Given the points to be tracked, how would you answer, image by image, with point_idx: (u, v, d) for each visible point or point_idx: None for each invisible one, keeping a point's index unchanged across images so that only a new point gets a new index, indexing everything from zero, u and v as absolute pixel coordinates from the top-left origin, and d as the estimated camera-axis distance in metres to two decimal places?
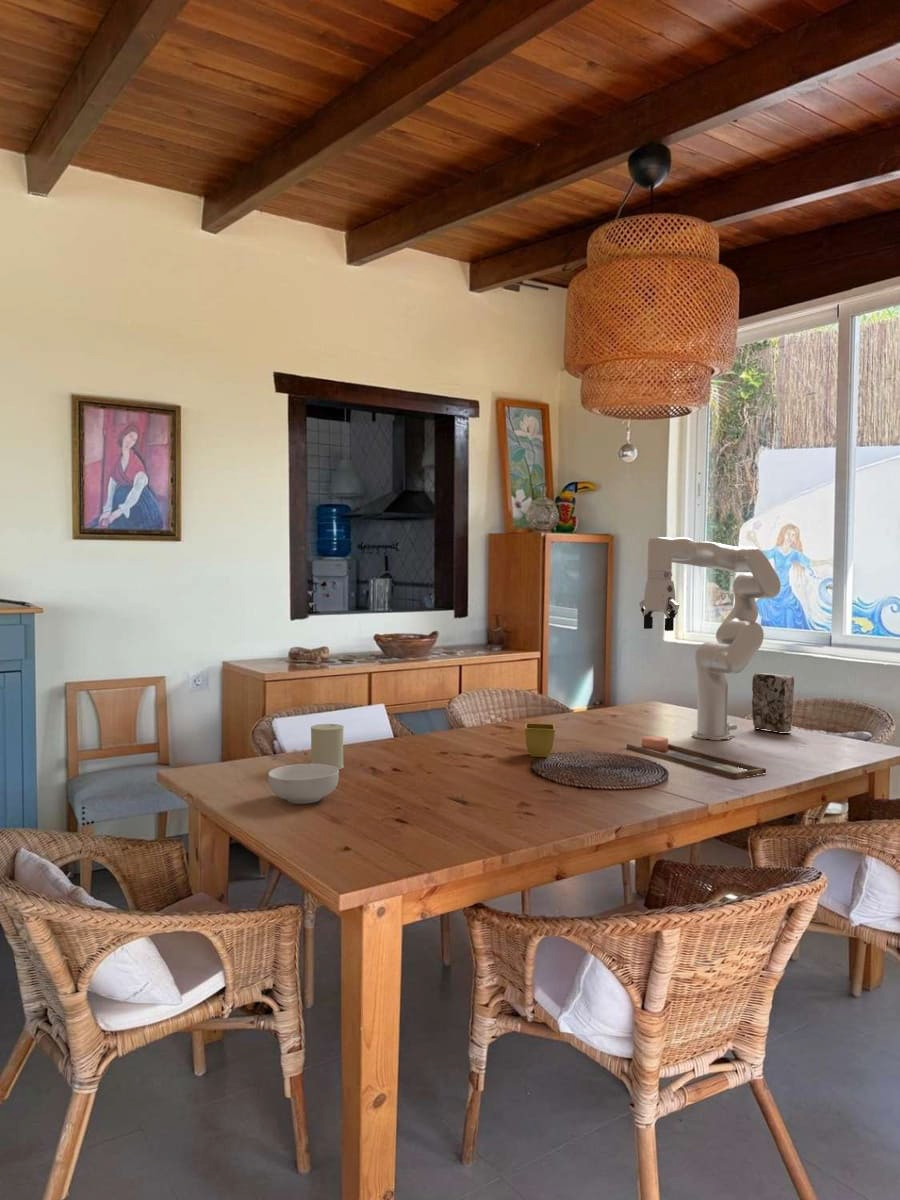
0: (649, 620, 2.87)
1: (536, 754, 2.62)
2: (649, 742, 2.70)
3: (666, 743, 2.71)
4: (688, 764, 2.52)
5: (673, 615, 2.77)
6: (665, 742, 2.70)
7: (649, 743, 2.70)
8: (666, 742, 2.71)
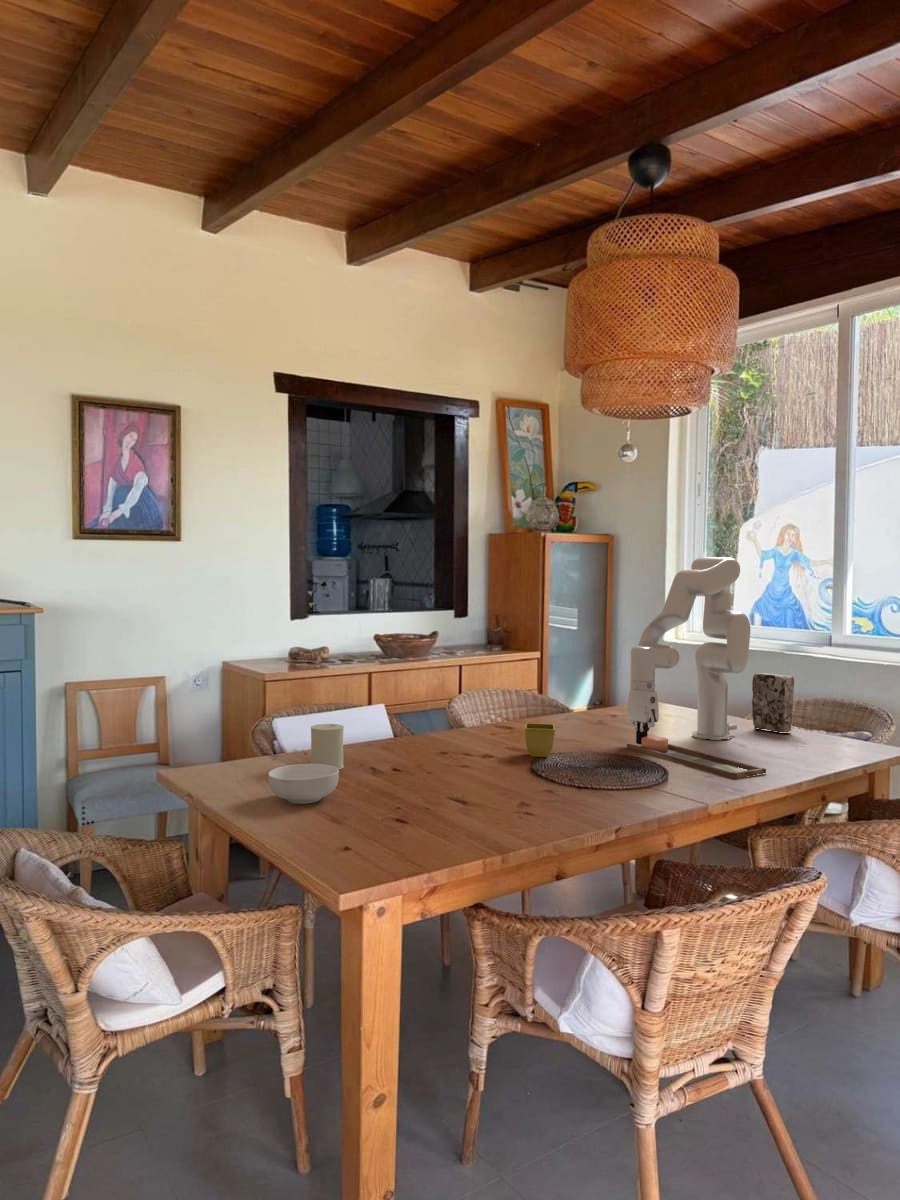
0: None
1: (536, 754, 2.62)
2: (649, 742, 2.70)
3: (667, 743, 2.71)
4: (688, 764, 2.52)
5: (646, 729, 2.77)
6: (665, 742, 2.70)
7: (650, 743, 2.70)
8: (666, 742, 2.71)
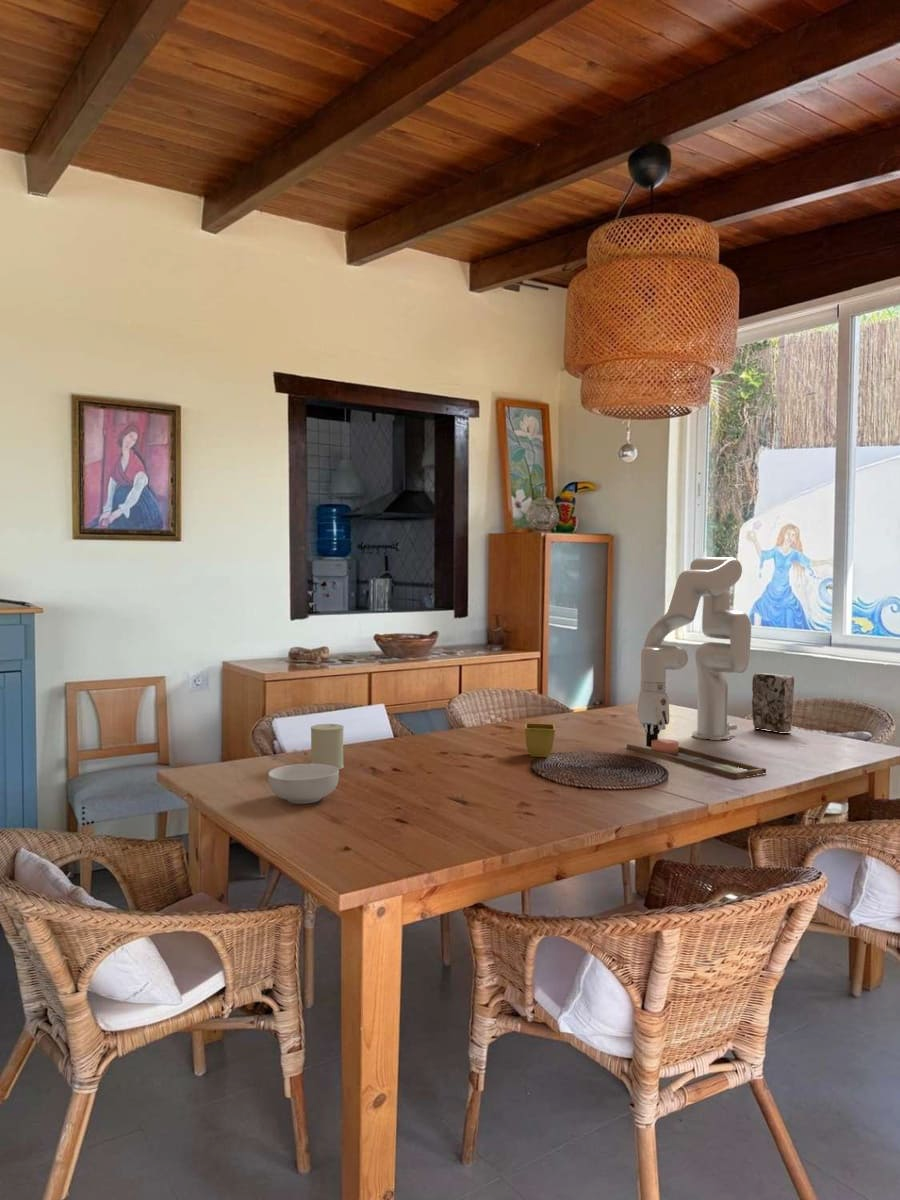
0: None
1: (536, 754, 2.62)
2: (659, 745, 2.66)
3: (677, 746, 2.66)
4: (688, 764, 2.52)
5: (657, 731, 2.72)
6: (676, 745, 2.66)
7: (659, 746, 2.66)
8: (676, 745, 2.66)
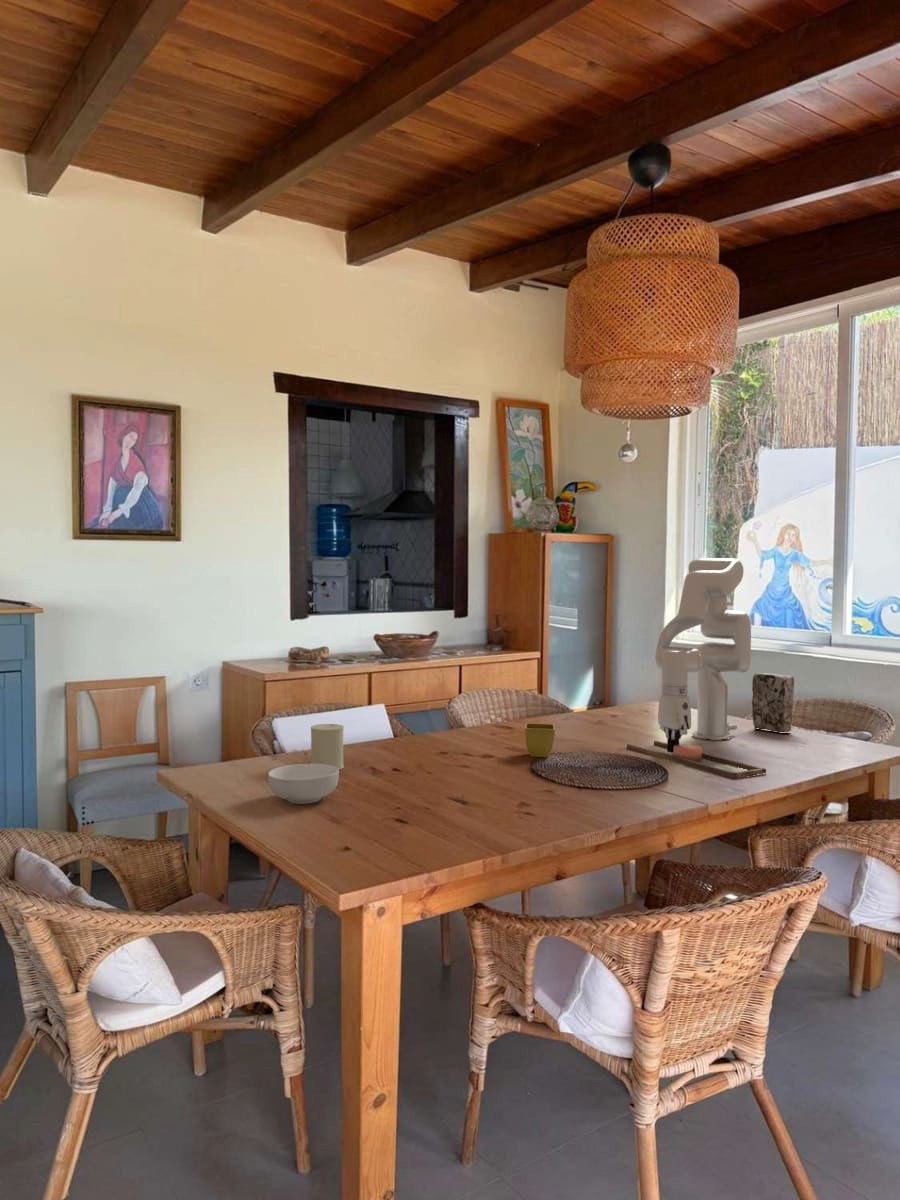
0: None
1: (536, 754, 2.62)
2: (683, 751, 2.57)
3: (700, 752, 2.58)
4: (688, 764, 2.52)
5: (678, 736, 2.64)
6: (699, 751, 2.58)
7: (683, 752, 2.57)
8: (700, 751, 2.58)
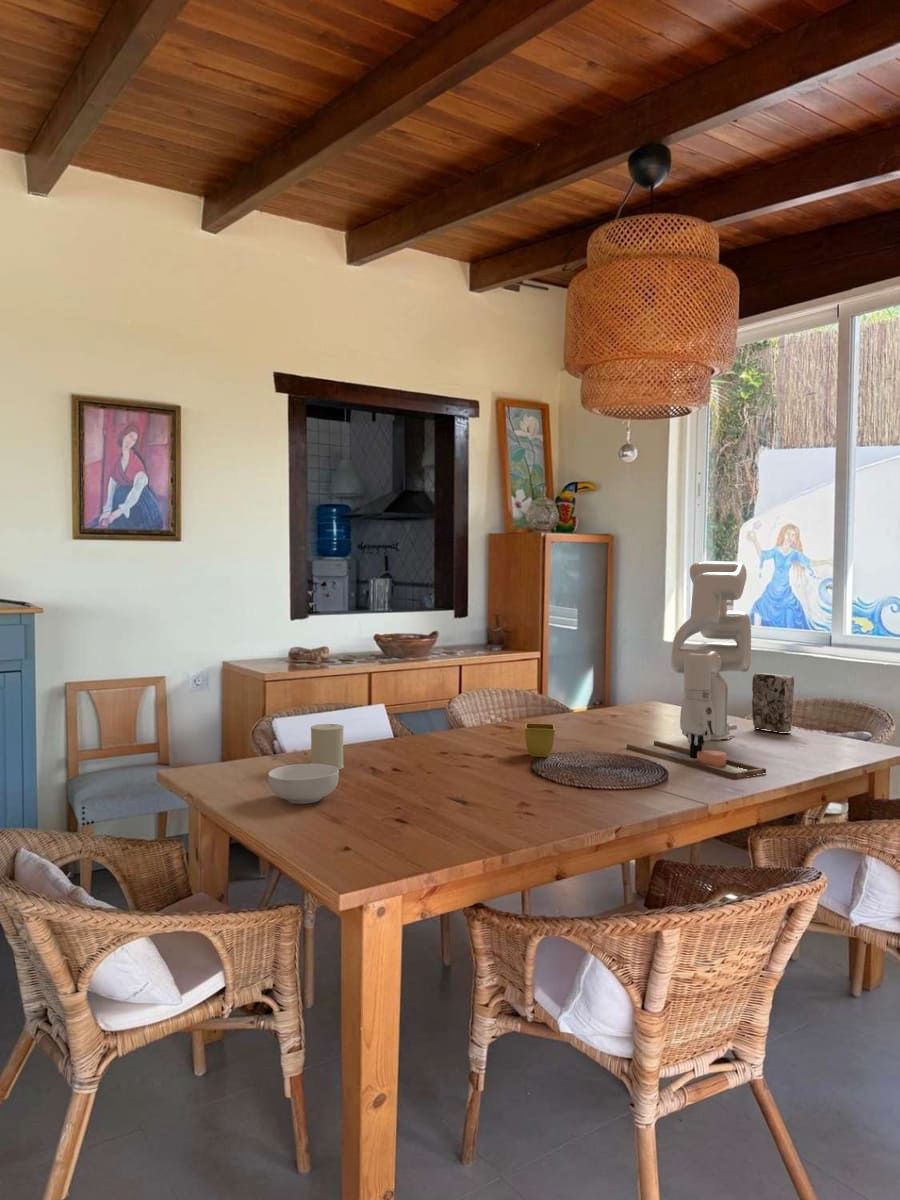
0: None
1: (536, 754, 2.62)
2: (708, 757, 2.49)
3: (725, 758, 2.50)
4: (688, 764, 2.52)
5: (702, 742, 2.56)
6: (724, 757, 2.50)
7: (708, 758, 2.49)
8: (725, 757, 2.50)
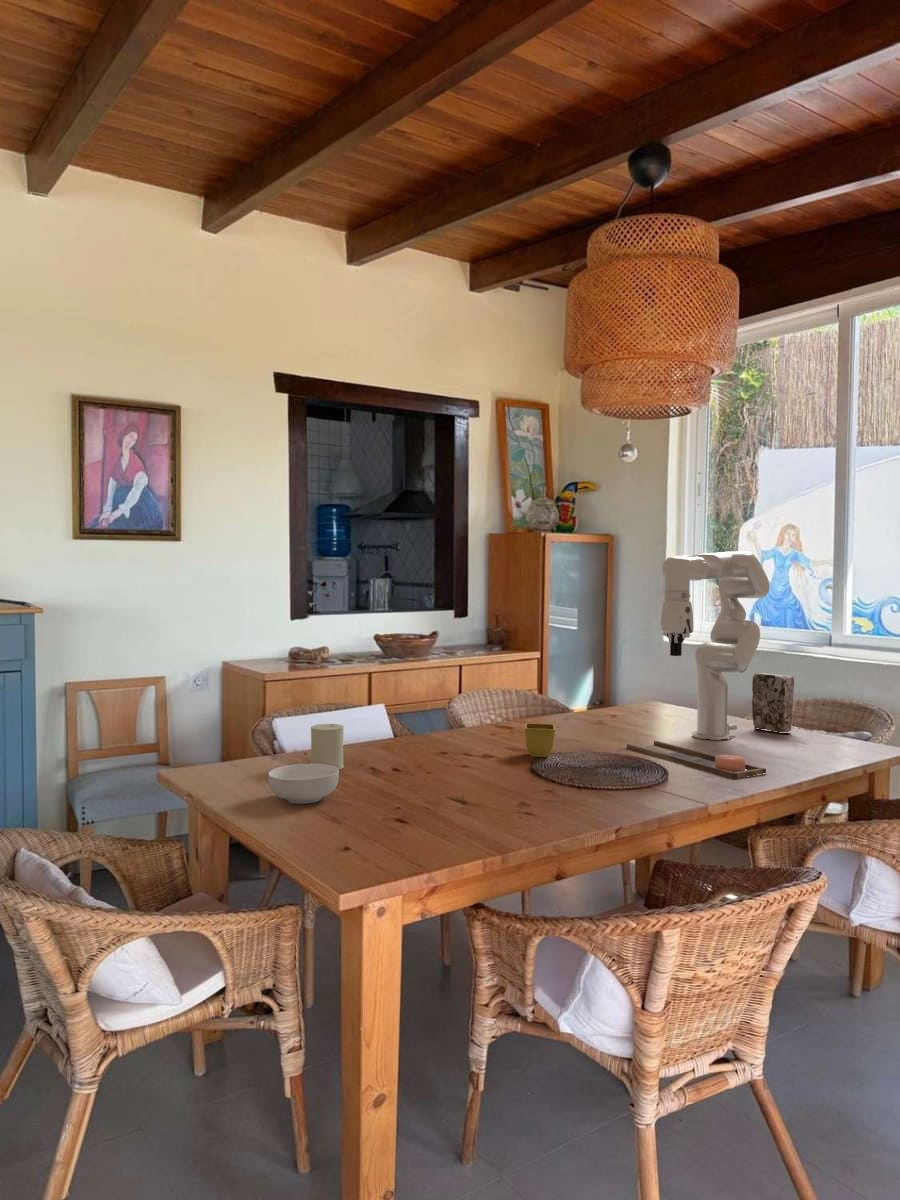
0: None
1: (536, 754, 2.62)
2: (726, 762, 2.43)
3: (744, 763, 2.44)
4: (688, 764, 2.52)
5: (681, 640, 2.74)
6: (744, 762, 2.44)
7: (727, 763, 2.43)
8: (744, 762, 2.44)
